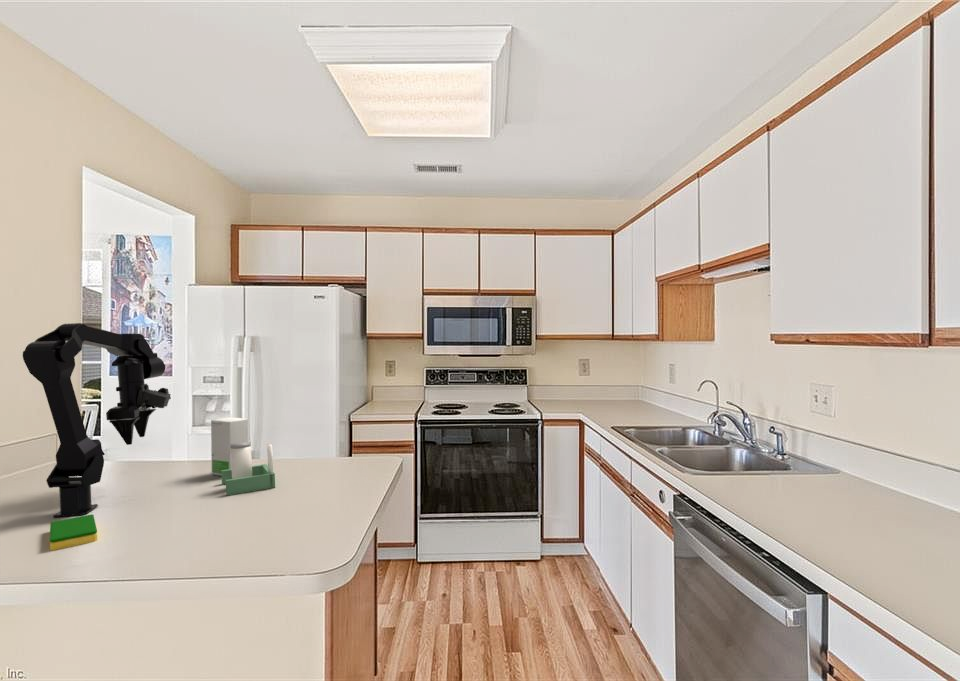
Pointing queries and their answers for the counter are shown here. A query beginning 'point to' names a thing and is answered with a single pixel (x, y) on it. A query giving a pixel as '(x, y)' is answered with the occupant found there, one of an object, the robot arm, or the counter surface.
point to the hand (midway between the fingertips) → (135, 440)
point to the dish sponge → (72, 532)
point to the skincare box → (226, 440)
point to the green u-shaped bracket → (251, 478)
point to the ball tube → (241, 459)
